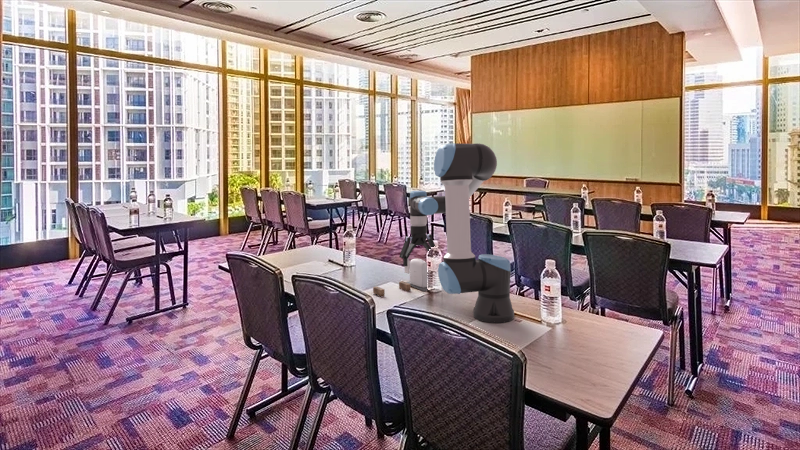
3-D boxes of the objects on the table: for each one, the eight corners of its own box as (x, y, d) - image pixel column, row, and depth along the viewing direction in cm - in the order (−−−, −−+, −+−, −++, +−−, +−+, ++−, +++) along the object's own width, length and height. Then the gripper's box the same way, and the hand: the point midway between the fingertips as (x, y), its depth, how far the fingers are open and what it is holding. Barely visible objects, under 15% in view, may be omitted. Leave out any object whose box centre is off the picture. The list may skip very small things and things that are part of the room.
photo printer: (408, 283, 233) (408, 257, 231) (415, 282, 235) (415, 256, 233) (422, 288, 225) (422, 261, 223) (429, 286, 227) (429, 260, 225)
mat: (434, 289, 225) (434, 288, 225) (424, 291, 222) (424, 290, 222) (413, 281, 238) (413, 280, 238) (403, 283, 235) (403, 282, 235)
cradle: (410, 290, 224) (410, 284, 223) (380, 296, 214) (380, 290, 214) (402, 287, 228) (402, 281, 228) (373, 293, 219) (373, 287, 219)
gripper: (434, 221, 236) (434, 265, 239) (391, 226, 222) (392, 273, 224) (445, 223, 230) (445, 268, 233) (401, 228, 216) (401, 276, 218)
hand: (419, 270), depth 229 cm, fingers open, 13 cm apart
